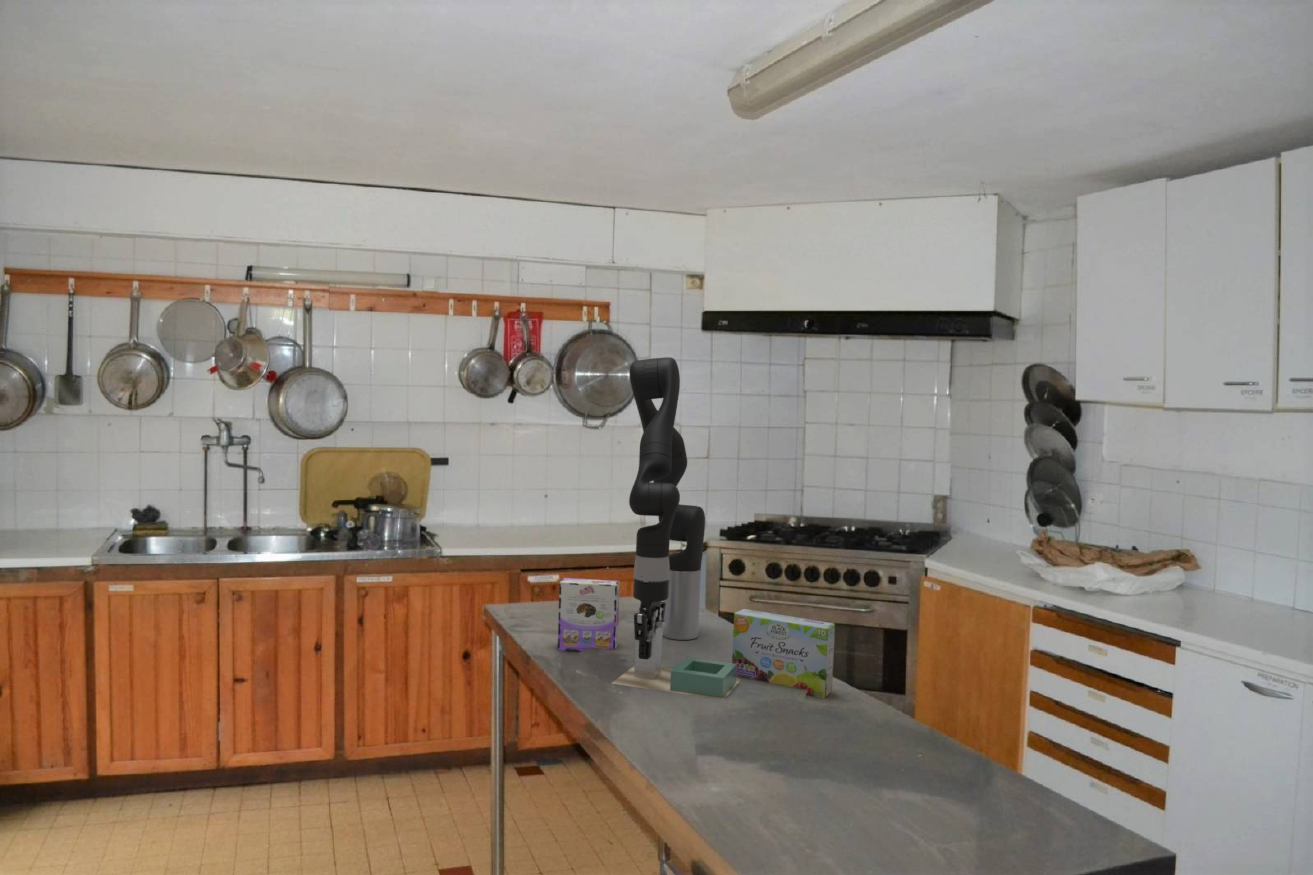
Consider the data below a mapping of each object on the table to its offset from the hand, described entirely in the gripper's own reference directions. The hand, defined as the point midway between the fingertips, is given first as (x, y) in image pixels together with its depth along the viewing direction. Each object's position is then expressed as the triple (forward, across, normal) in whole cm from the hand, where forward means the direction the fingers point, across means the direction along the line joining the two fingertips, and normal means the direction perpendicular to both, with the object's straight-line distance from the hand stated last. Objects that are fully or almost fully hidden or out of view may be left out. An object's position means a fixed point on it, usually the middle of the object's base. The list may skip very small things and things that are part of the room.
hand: (648, 655), depth 205 cm
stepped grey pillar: (+4, 0, 0) cm, 4 cm away
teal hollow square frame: (+4, +2, +13) cm, 14 cm away
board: (+6, +1, +7) cm, 9 cm away
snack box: (+6, -9, +27) cm, 29 cm away
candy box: (+6, -17, -21) cm, 28 cm away
